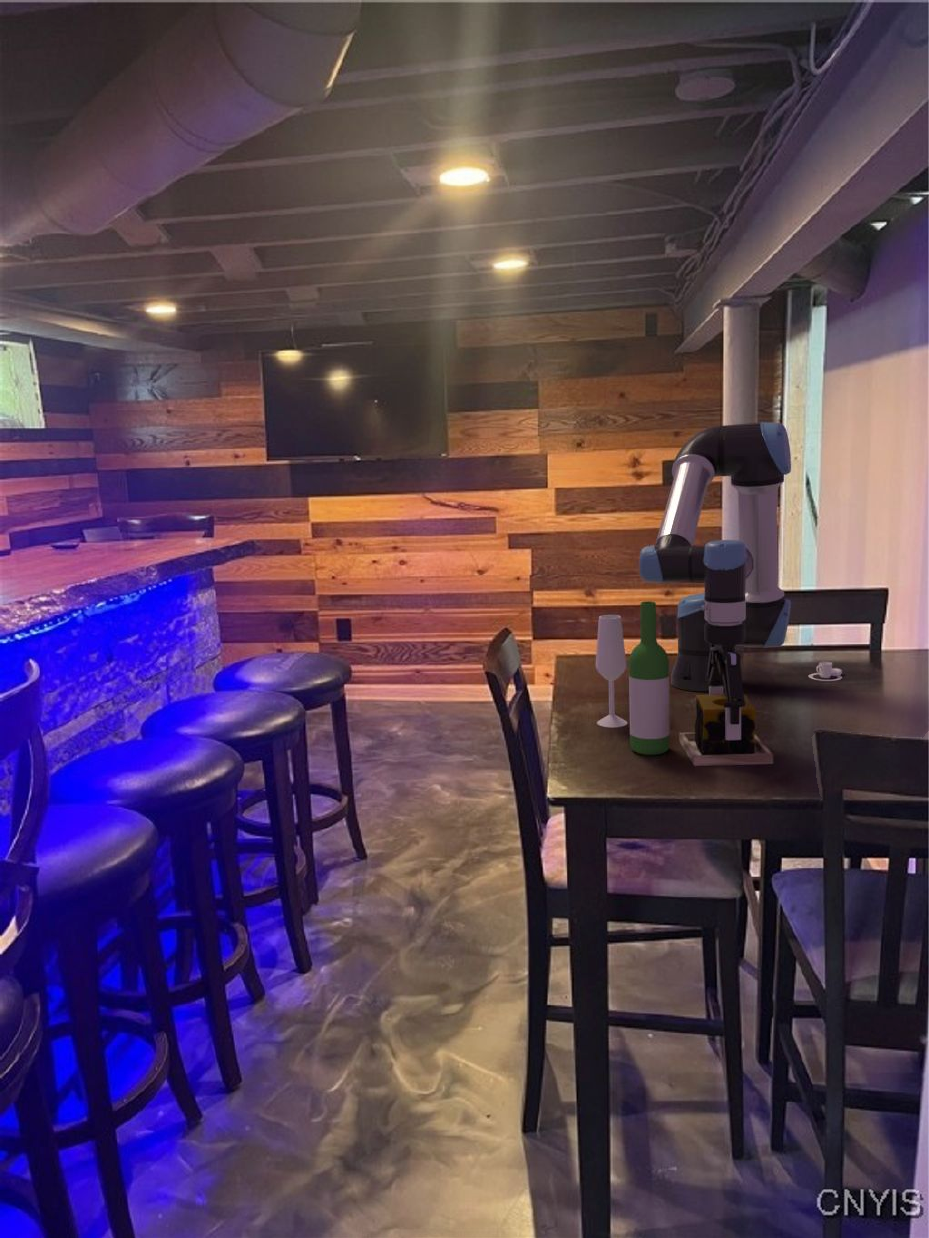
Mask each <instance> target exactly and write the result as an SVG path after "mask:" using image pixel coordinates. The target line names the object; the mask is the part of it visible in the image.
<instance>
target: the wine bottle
mask: <svg viewBox="0 0 929 1238" xmlns="http://www.w3.org/2000/svg"><path fill="white" fill-rule="evenodd" d="M656 604H657V603H656V602H655V601H642V602H640V642H639V644H637V645H636V646H635V647H634V648H633V649H632V651H631V653H630V655H629V660H628V669H629V670H628V673H629V674H628V685H629V686H628V691H629V692H628V693H629V694H628V695H629V697H628V698H629V699H628V700H629V701H628V702H629V743H630V748H631V750H632V751H634V752H635V753H637V754H640V755H645V756H646V755H647V756H656V755H657V756H658V755H661V754H664V753H666V752H667V751H668V750H669V749H670V733H671V731H670V661H669V660H670V659H669V656H668V653H667V652H666V650H665V649H664V647H663V646H662V645H660V644H659V643H658V642H657V640H658V639H657V605H656Z"/></svg>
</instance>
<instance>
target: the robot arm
mask: <svg viewBox="0 0 929 1238" xmlns="http://www.w3.org/2000/svg"><path fill="white" fill-rule="evenodd" d="M791 459H792V455H791V446H790V440H789V435H788V431H787V429H786V427H785V425H784V424H782V423H781V422H765V421H761V422H753V423H752V422H751V423H738V424H728V425H726V424H725V425H721V424H720V425H713V426H710V427H707V428H705V429H703V430H701V431H699V432H698V433H696V434H695V435H693V436H692V437H691V438H690V439H688V441H686V442H685V444H684V445H683V446H682V447H681V448H680V450H679V451H678V453H677V454H676V456H675V458H674V460H673V464H672V468H671V474H672V479H673V480H672V484H671V488H670V492H669V495H668V498H667V502H666V505H665V509H664V512H663V517H662V520H661V524H660V526H659V527H660V528H659V530H658V534H657V538H656V541H655V545H654V544H652V545H647V546H644V547H643V548H642V549H641V551H640V552H639V553H640V554H639V559H638V560H639V561H638V568H639V569H638V570H639V574H640V577H641V579H642V580H643V581H644V582H648V583H649V582H651V583H659V584H663V583H665V584H666V583H668V584H669V583H670V584H671V583H673V584H677V583H684V584H686V583H693V584H696V583H697V584H704V592H702V593H695V594H691V595H687V596H685V597H682V598H681V599H680V600H679V602H678V603H677V615H676V618H677V656H676V659H675V663H674V666H673V668H672V671H671V675H670V683H671V686H673V687H674V688H676V689H680V690H683V691H690V692H708V695H726V700H727V703H724V706H723V707H724V708H725V739H726V740H741V707H744V706H745V701H744V695H745V694H744V685H743V684H744V683H743V677H742V668H741V658H742V657H741V654H740V652H739V653H737V652H736V650H735V647H755V648H763V649H764V648H778V647H781V646H783V645H784V643H785V641H786V636H787V633H788V626H789V619H790V614H791V607H792V605H791V604H792V601H791V600H790V599H787V598H786V599H785V591H784V590H783V589H781V588H780V586H778V584H779V583H778V489H779V487H780V486H781V485H782V484H783V483H784V482H785V475H786V476H787V475H789V474H790V473H791V471H792V460H791ZM715 477H730V485H731V486H732V487H733V488H734V489H735V490H736V491H737V498H738V499H737V500H738V501H737V502H738V506H737V507H738V540H736V539H724V540H723V539H719V540H713V541H712V540H711V541H709V542H707V543H706V544H705V545H694V542H695V537H696V533H697V529H698V525H699V520H700V516H701V512H702V508H703V504H704V501H705V496H706V492H707V488H708V487H707V486H709V485H710V484H711V483H712V482H713V480H714V478H715ZM734 699H737V700H734Z"/></svg>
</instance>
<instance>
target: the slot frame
mask: <svg viewBox="0 0 929 1238" xmlns="http://www.w3.org/2000/svg"><path fill="white" fill-rule="evenodd" d="M678 737H679V743H680V744H681V746H682V748H683V750H684V752H686V755H687V756H688V757H689V760H690V761H691V763H692V765H693V766H694V767H701V766H703V767H704V766H705V767H708V766H710V767H711V766H737V765H739V766H740V765H742V766H745V765H747V766H749V765H773V764H774V754H773V753H772V751H771V750H769V748H768V747H767V746H766V744H764V742H762V740H761V739H760V738H759V736H757V735H756V734H755V735H754V743H755V754H727V755H701V753H700V752H699V750H698V748H697V746H696V742H695V731H693V732H692V731H691V732H689V731H688V732H679V736H678Z"/></svg>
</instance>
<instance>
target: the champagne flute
mask: <svg viewBox="0 0 929 1238" xmlns="http://www.w3.org/2000/svg"><path fill="white" fill-rule="evenodd" d="M622 622H623V620H622V617H621V615H618V614H605V615H600V616H598V624H597V625H598V626H597V628H598V629H597V640H596V641H597V642H596V653H595V654H596V656H595V669H596V671H597V672H598V674H600V675H601V676H602V677H603V678H604V679H605V680H606V681H608V715H606V716H604V717H603V718H601V719H599V720H598V721H597V722H596V724H597V726H600V727H603V728H621V727H625V726H626V725H627V724H628V721H627V720H625V719H623V718H622V717H619V716H618V715H616V714H615V713H616V712H615V709H616V708H615V681H617V680H618V678H620V677H621V676H622V675H623V674H624V673H625V670H626V669H627V666H628V665H627V657H626V650H625V641H624V632H623V623H622Z"/></svg>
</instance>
